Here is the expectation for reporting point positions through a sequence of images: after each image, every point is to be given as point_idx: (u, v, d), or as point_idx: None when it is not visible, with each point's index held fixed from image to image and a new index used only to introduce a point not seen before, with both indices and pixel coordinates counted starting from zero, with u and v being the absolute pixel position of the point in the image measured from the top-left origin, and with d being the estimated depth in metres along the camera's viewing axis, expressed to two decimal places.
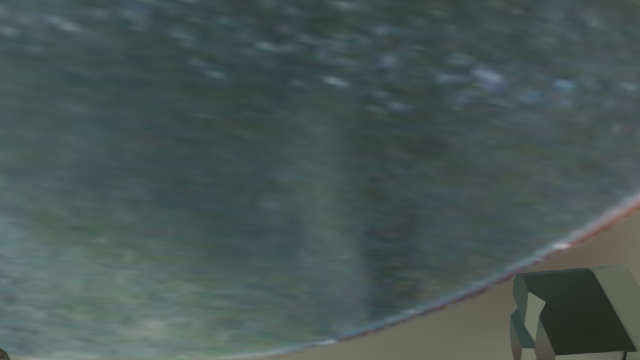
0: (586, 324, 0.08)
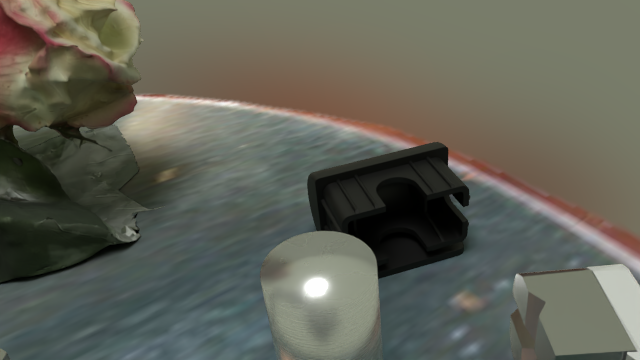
0: (586, 324, 0.08)
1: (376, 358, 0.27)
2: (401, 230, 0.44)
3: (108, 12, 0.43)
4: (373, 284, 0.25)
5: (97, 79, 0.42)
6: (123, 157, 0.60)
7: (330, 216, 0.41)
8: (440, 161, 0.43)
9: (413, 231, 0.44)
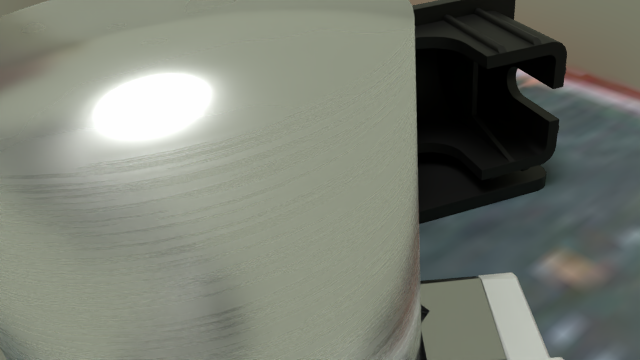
0: (463, 333, 0.08)
1: None
2: (429, 147, 0.24)
3: None
4: (401, 71, 0.05)
5: None
6: None
7: None
8: (502, 15, 0.23)
9: (453, 147, 0.24)
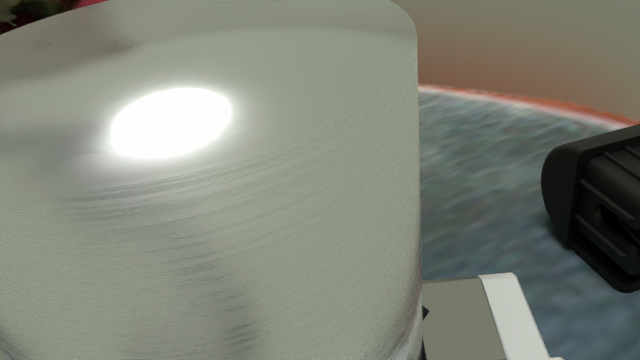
0: (464, 333, 0.08)
1: None
2: None
3: None
4: (404, 91, 0.05)
5: None
6: None
7: (606, 200, 0.30)
8: None
9: None
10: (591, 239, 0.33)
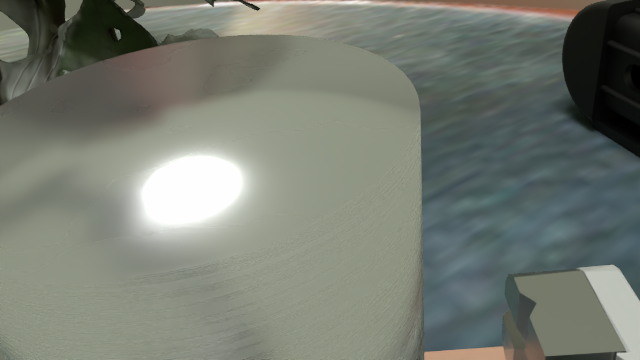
0: (577, 325, 0.08)
1: None
2: None
3: None
4: (408, 166, 0.06)
5: None
6: None
7: None
8: None
9: None
10: (620, 110, 0.30)
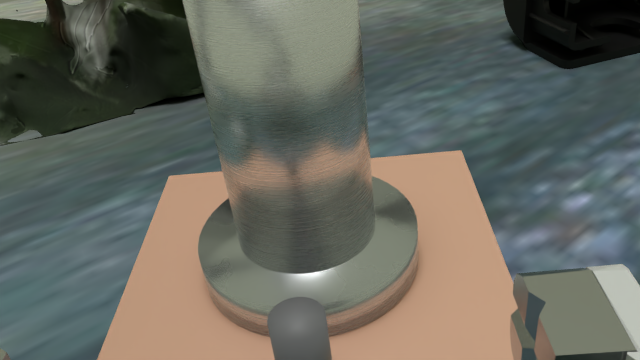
0: (586, 324, 0.08)
1: (354, 85, 0.18)
2: (609, 21, 0.41)
3: None
4: None
5: None
6: None
7: None
8: None
9: (626, 19, 0.40)
10: (542, 31, 0.40)
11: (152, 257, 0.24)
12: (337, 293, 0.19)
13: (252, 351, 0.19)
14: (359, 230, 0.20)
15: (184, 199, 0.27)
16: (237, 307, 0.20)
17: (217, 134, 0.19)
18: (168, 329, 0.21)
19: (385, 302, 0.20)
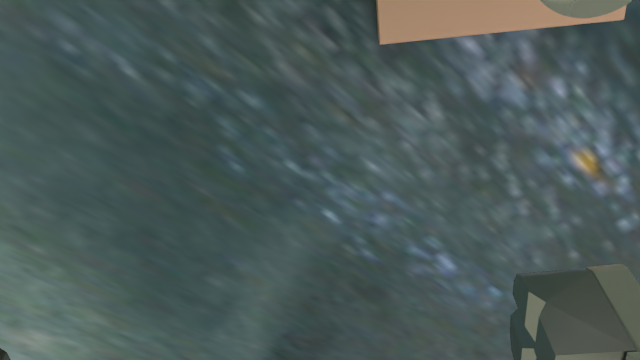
0: (587, 325, 0.08)
1: None
2: None
3: None
4: None
5: None
6: None
7: None
8: None
9: None
10: None
11: None
12: None
13: None
14: None
15: None
16: None
17: None
18: None
19: None
